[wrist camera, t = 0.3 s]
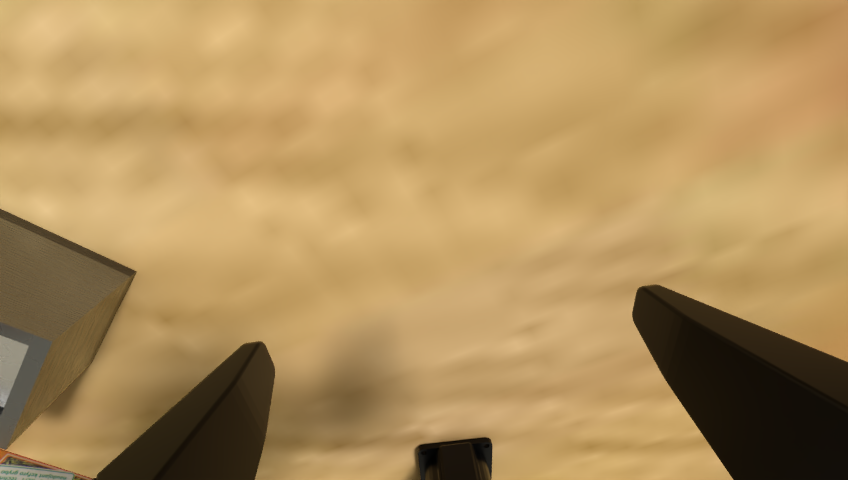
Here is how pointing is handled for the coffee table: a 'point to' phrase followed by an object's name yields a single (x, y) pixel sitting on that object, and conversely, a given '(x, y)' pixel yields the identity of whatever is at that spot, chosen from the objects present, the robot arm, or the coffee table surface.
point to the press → (51, 314)
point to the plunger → (9, 365)
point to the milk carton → (32, 469)
